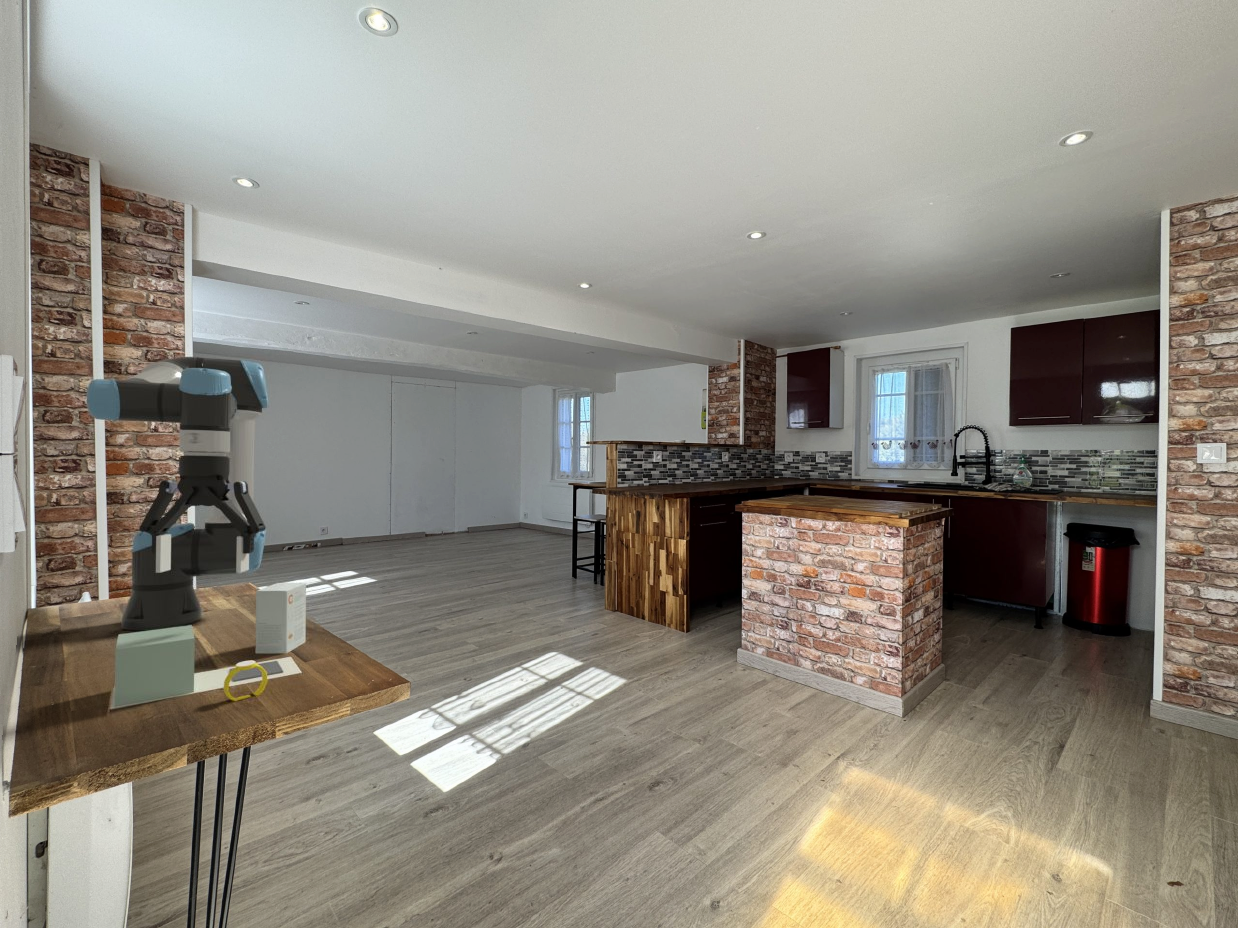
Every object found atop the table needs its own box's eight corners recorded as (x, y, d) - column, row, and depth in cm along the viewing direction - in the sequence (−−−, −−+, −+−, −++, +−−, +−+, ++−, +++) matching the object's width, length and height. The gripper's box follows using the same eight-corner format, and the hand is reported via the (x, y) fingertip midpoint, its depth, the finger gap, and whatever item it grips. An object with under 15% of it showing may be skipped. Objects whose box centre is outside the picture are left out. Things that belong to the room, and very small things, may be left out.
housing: (117, 687, 98) (118, 634, 98) (190, 674, 104) (191, 624, 104) (114, 707, 90) (115, 649, 90) (193, 692, 96) (194, 638, 96)
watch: (228, 708, 92) (226, 671, 92) (222, 703, 94) (220, 667, 93) (270, 694, 96) (267, 659, 96) (263, 690, 98) (261, 655, 98)
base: (113, 688, 98) (113, 685, 98) (290, 658, 115) (290, 655, 115) (109, 710, 89) (110, 706, 89) (301, 674, 106) (302, 670, 106)
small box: (276, 642, 124) (277, 582, 125) (306, 642, 125) (307, 582, 125) (253, 655, 116) (255, 590, 116) (286, 655, 117) (287, 590, 117)
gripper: (115, 452, 100) (113, 575, 100) (266, 455, 102) (264, 575, 102) (146, 453, 107) (144, 567, 108) (286, 456, 110) (285, 567, 110)
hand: (203, 571), depth 105 cm, fingers open, 13 cm apart
